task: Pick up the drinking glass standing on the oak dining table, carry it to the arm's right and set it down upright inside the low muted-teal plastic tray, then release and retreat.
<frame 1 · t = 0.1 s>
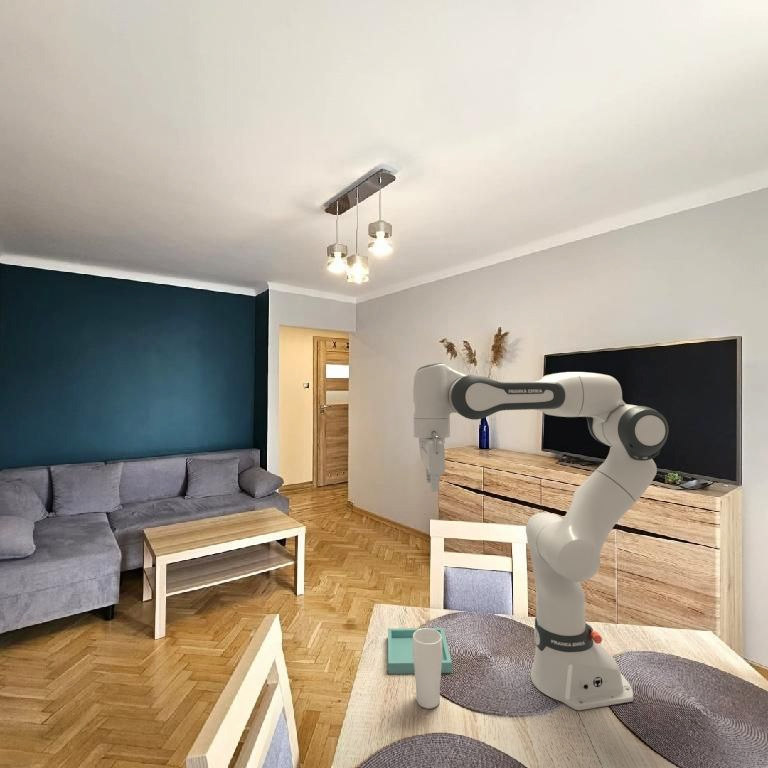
hand: (432, 486, 107), 48 cm above the table, fingers open, 8 cm apart
tray: (417, 654, 118), on the table
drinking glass: (428, 702, 100), on the table
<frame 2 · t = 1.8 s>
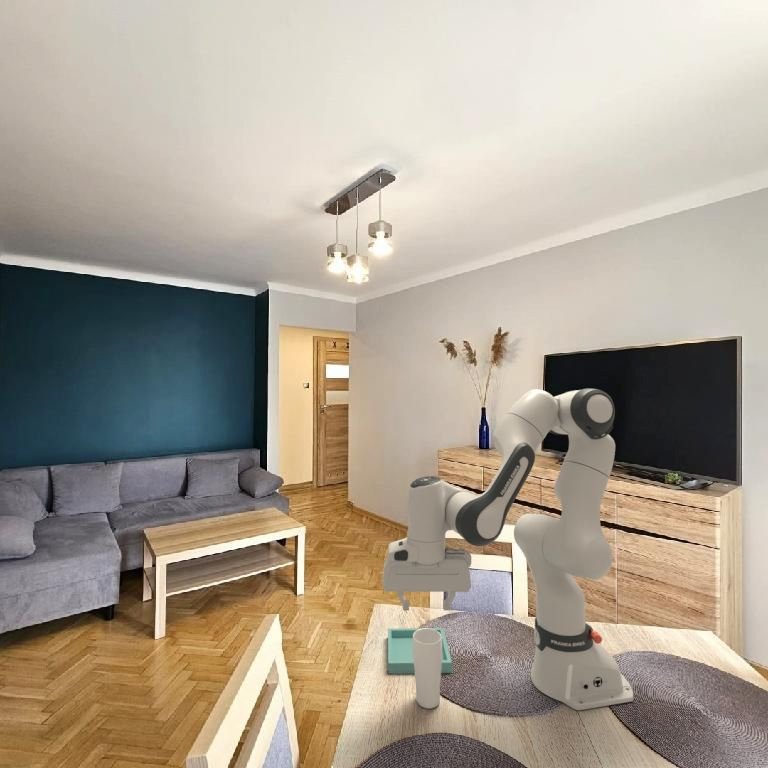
hand: (426, 609, 100), 21 cm above the table, fingers open, 8 cm apart
nothing on the table moved.
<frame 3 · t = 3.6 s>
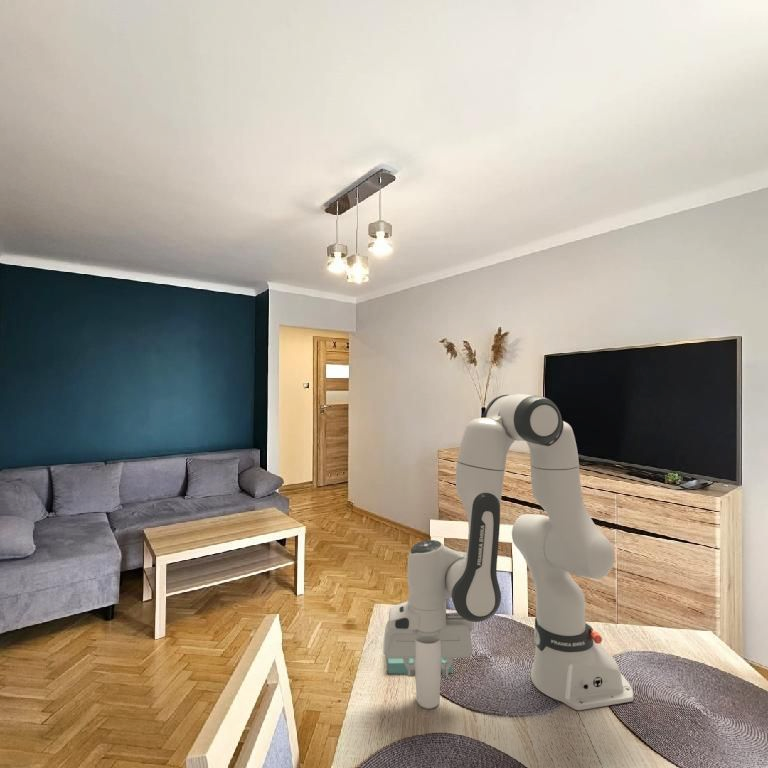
hand: (427, 674, 100), 6 cm above the table, fingers closed on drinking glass, 6 cm apart
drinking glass: (428, 702, 100), on the table, touching gripper
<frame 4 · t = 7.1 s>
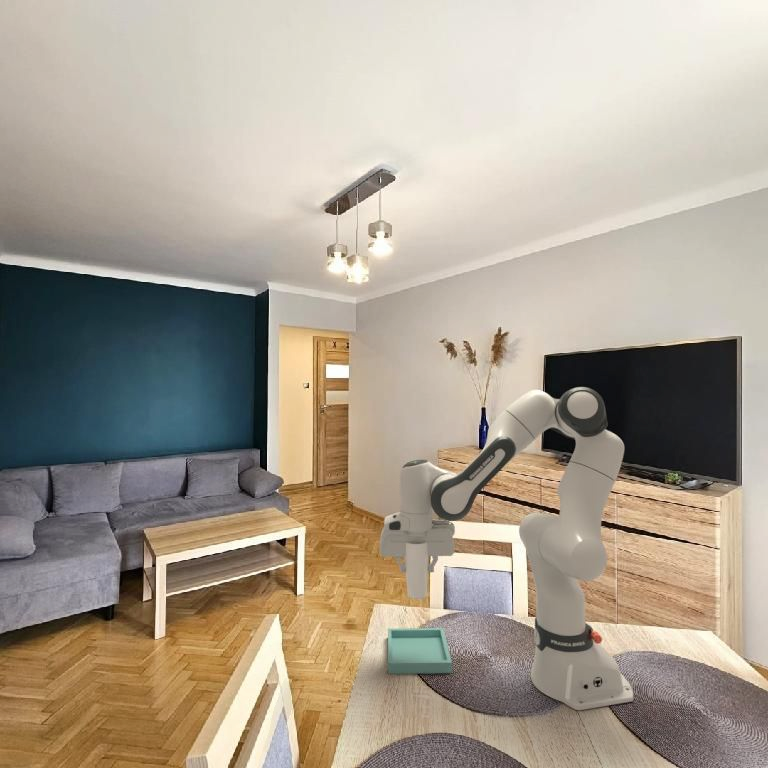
hand: (416, 571, 118), 22 cm above the table, fingers closed on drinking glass, 6 cm apart
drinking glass: (417, 596, 118), point 16 cm above the table, touching gripper
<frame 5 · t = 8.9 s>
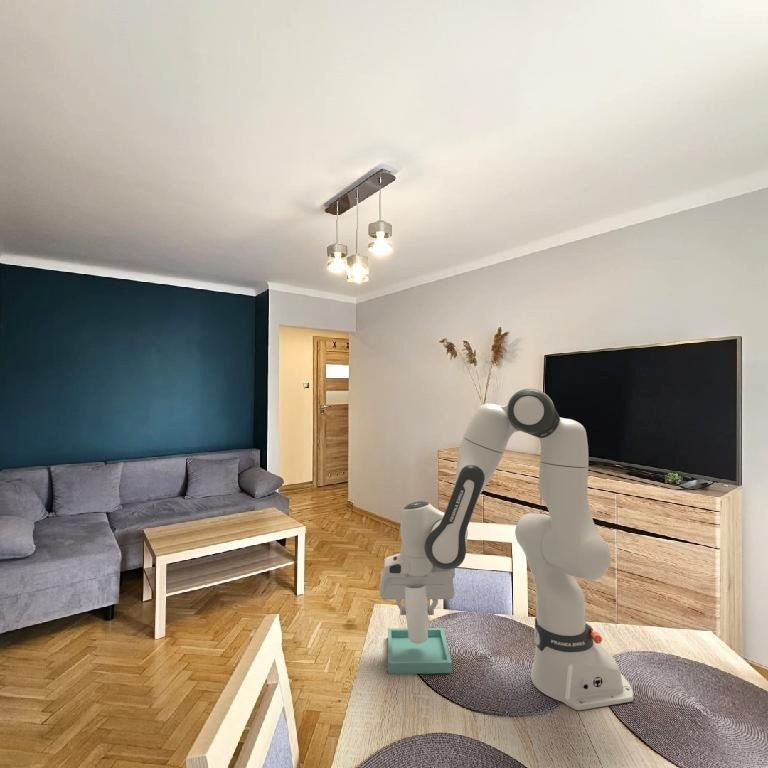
hand: (416, 614, 118), 11 cm above the table, fingers closed on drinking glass, 6 cm apart
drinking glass: (418, 639, 118), point 4 cm above the table, touching gripper
when the fingers open (8 cm above the table, at t = 10.5 s): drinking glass stays where it is, resting in tray.
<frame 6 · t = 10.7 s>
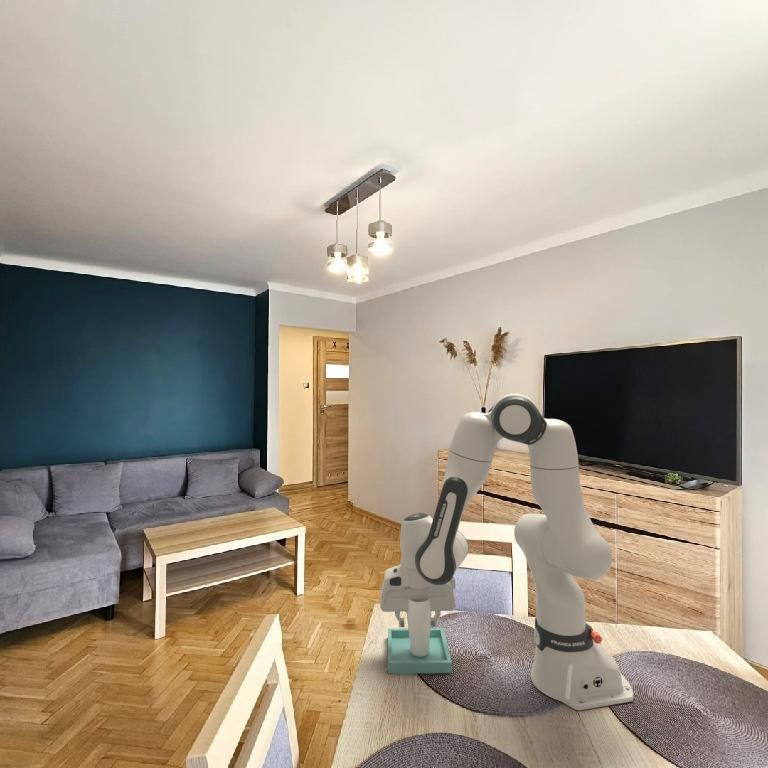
hand: (417, 626, 118), 8 cm above the table, fingers open, 7 cm apart
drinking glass: (419, 652, 118), resting on tray, touching gripper
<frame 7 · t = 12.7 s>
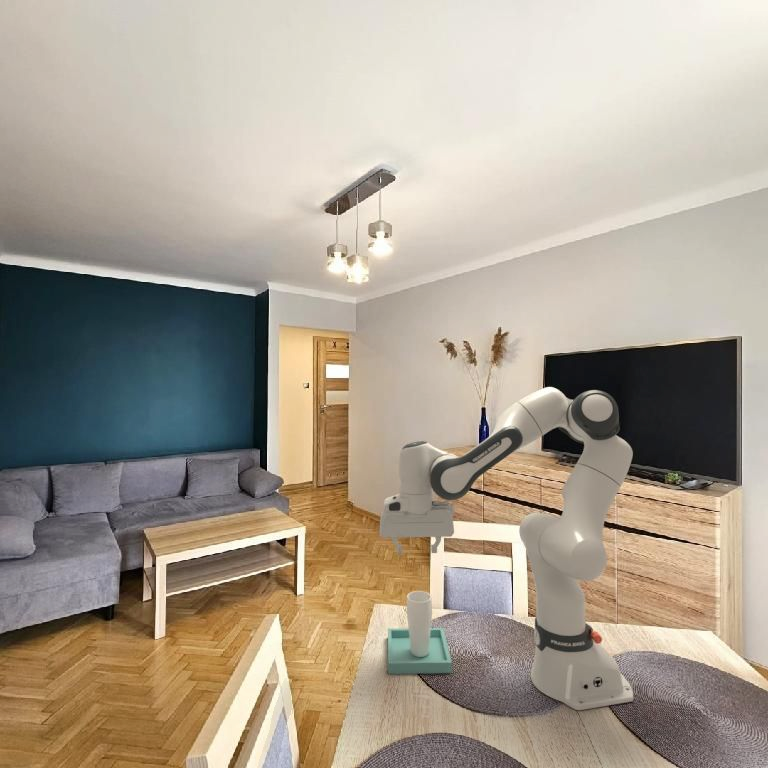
hand: (416, 552, 119), 27 cm above the table, fingers open, 8 cm apart
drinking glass: (419, 653, 118), resting on tray
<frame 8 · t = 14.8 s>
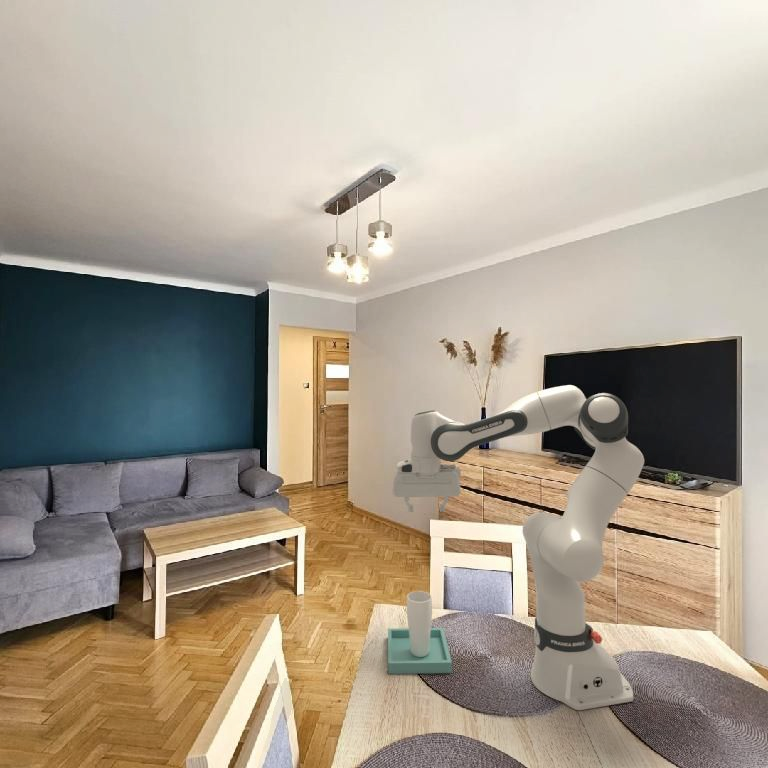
hand: (426, 511, 130), 35 cm above the table, fingers open, 8 cm apart
nothing on the table moved.
at the end: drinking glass inside the target area on the tray (0.6 cm from its centre), point 0.4 cm above the tray's base; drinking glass tilted 0°; the gripper is holding nothing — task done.
